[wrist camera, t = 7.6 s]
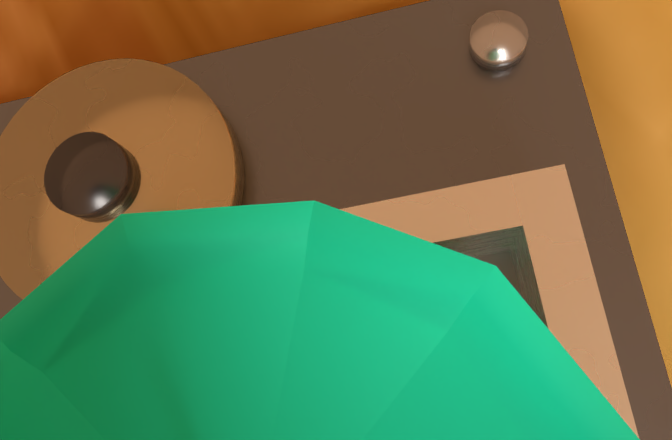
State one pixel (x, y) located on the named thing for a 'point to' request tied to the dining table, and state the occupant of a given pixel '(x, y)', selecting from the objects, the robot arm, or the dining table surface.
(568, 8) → the dining table surface
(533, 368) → the candle
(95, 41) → the dining table surface
